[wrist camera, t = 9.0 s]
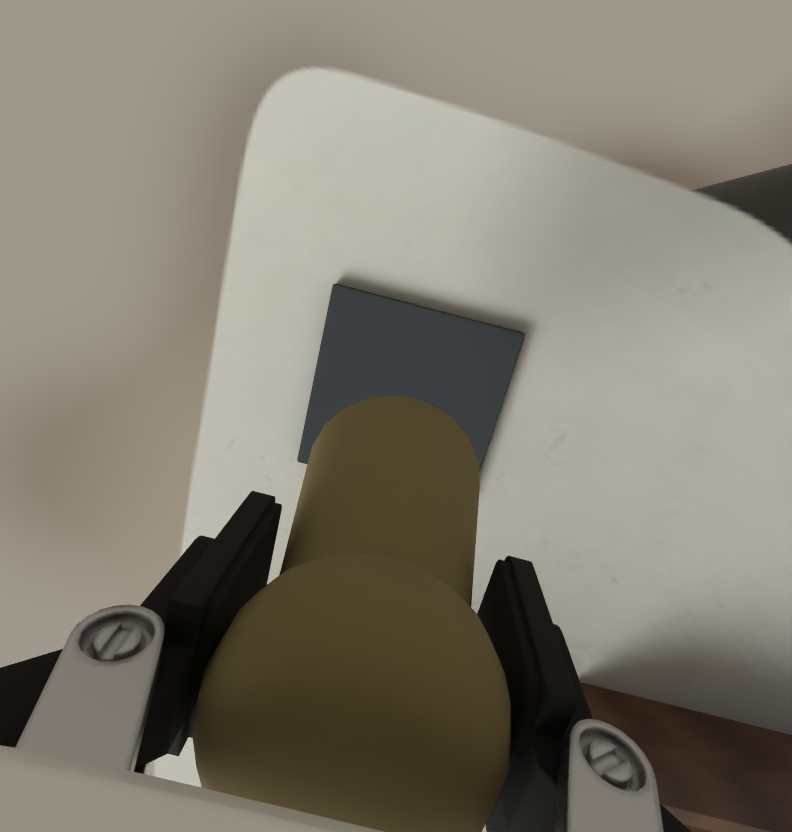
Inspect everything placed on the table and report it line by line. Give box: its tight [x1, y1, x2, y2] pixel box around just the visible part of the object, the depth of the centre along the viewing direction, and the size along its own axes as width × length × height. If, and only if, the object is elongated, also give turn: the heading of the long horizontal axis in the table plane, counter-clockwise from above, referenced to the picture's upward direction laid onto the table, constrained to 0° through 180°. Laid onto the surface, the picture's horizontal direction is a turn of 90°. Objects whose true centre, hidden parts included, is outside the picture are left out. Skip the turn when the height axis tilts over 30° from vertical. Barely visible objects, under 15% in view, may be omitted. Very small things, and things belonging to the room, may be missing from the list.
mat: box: [297, 284, 525, 472], centre depth 27 cm, size 10×10×1 cm
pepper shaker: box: [193, 396, 511, 832], centre depth 12 cm, size 6×6×11 cm
